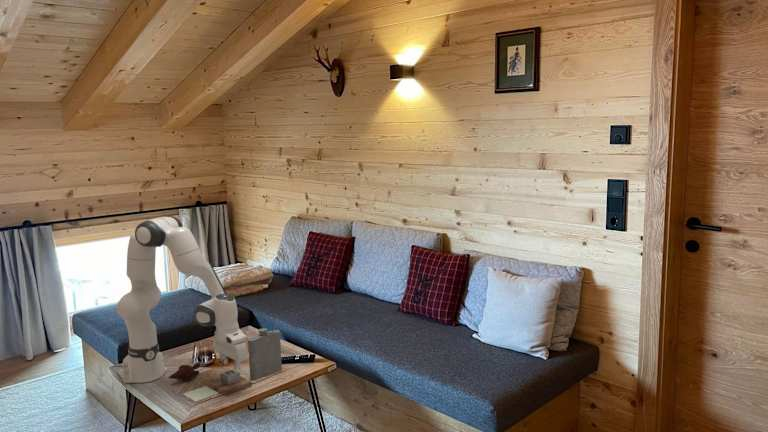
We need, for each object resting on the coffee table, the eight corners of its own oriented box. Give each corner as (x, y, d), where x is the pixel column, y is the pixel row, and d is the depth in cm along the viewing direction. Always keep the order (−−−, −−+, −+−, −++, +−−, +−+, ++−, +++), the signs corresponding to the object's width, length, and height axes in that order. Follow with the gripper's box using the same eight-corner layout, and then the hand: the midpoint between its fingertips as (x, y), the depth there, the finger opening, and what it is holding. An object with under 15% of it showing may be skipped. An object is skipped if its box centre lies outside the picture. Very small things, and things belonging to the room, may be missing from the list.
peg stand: (210, 387, 248) (209, 373, 247) (235, 378, 256) (235, 364, 256) (225, 395, 240) (224, 381, 239) (251, 386, 248) (250, 372, 247)
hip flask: (253, 381, 253) (250, 335, 250) (247, 378, 256) (244, 333, 252) (283, 369, 264) (281, 325, 261) (277, 366, 267) (275, 323, 264)
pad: (183, 394, 242) (183, 393, 242) (205, 386, 249) (205, 385, 249) (195, 402, 235) (195, 401, 235) (218, 393, 242) (218, 392, 242)
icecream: (175, 374, 246) (206, 365, 258) (165, 366, 250) (196, 357, 262) (172, 389, 248) (203, 379, 260) (162, 380, 252) (193, 371, 264)
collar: (221, 382, 248) (220, 373, 247) (233, 378, 252) (232, 368, 251) (228, 386, 244) (227, 376, 243) (240, 381, 248) (239, 372, 247)
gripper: (208, 330, 250) (211, 362, 252) (234, 341, 235) (237, 375, 237) (221, 326, 254) (224, 357, 256) (248, 337, 240) (251, 370, 242)
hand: (231, 366), depth 247 cm, fingers open, 8 cm apart
